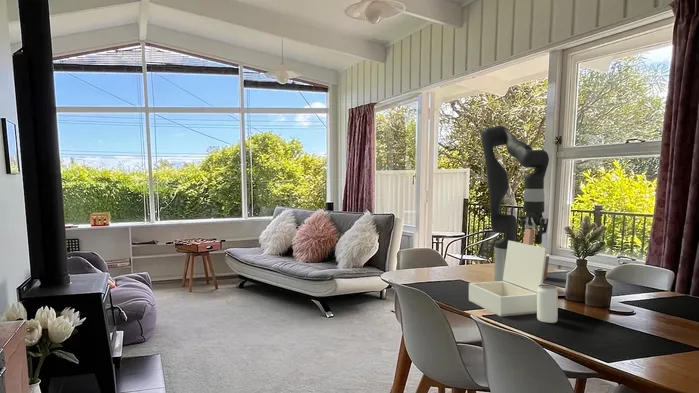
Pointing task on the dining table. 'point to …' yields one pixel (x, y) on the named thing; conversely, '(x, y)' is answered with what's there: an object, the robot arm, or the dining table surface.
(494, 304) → the box
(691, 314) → the dining table surface
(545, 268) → the coffee cup
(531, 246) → the mailer lid
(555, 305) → the can
